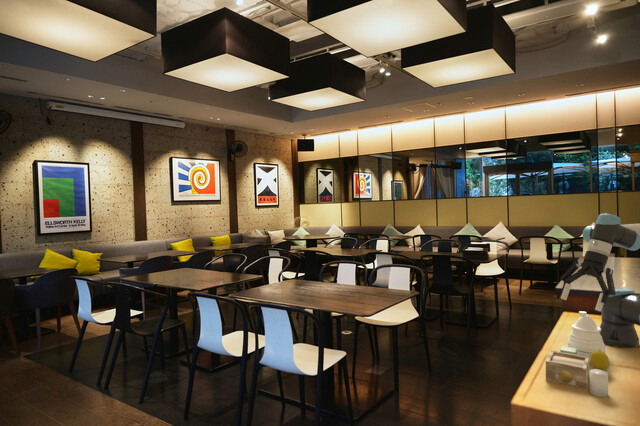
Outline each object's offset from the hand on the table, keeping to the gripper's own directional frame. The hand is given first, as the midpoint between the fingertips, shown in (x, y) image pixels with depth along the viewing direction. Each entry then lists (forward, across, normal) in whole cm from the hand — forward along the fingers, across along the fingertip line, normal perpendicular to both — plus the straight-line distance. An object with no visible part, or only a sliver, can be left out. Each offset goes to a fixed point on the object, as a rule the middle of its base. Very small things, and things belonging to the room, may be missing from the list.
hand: (579, 304), depth 164 cm
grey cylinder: (+26, +22, -12) cm, 36 cm away
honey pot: (+18, 0, +14) cm, 23 cm away
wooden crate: (+26, +10, -10) cm, 30 cm away
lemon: (+21, +12, +4) cm, 24 cm away
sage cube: (+22, +1, +4) cm, 23 cm away
